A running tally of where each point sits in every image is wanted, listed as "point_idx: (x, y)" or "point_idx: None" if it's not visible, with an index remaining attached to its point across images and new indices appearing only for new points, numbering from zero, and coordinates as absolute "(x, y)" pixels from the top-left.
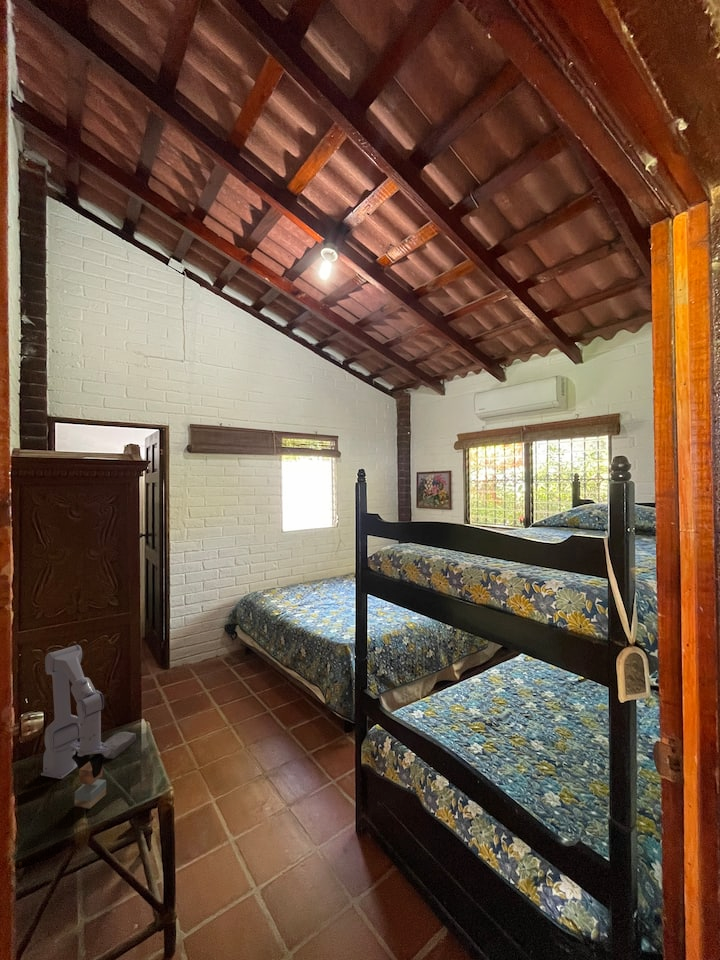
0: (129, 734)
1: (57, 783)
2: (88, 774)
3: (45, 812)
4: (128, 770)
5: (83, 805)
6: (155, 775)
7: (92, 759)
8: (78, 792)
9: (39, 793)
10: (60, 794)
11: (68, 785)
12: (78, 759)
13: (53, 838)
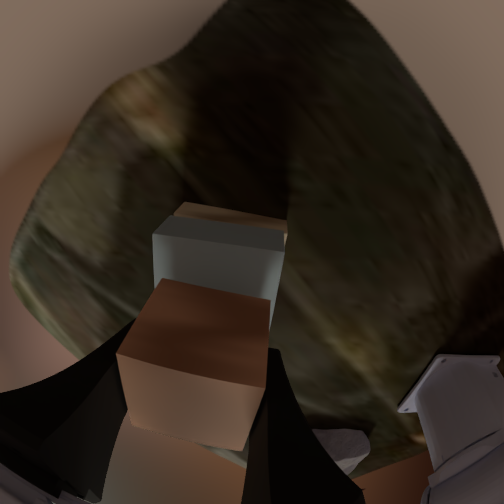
0: None
1: (443, 336)
2: (154, 334)
3: (411, 182)
4: None
5: (224, 212)
6: (78, 353)
7: (3, 433)
8: (254, 248)
9: (483, 289)
10: (406, 288)
11: (397, 332)
12: (266, 486)
13: (232, 19)
